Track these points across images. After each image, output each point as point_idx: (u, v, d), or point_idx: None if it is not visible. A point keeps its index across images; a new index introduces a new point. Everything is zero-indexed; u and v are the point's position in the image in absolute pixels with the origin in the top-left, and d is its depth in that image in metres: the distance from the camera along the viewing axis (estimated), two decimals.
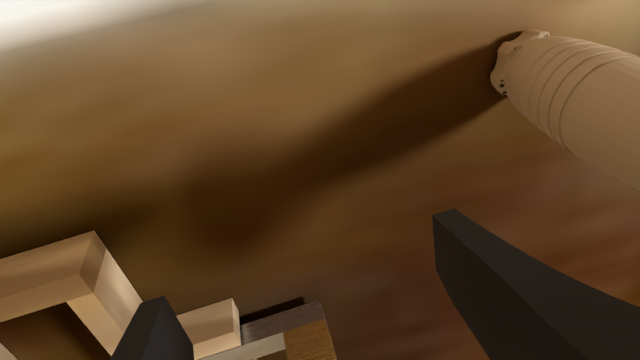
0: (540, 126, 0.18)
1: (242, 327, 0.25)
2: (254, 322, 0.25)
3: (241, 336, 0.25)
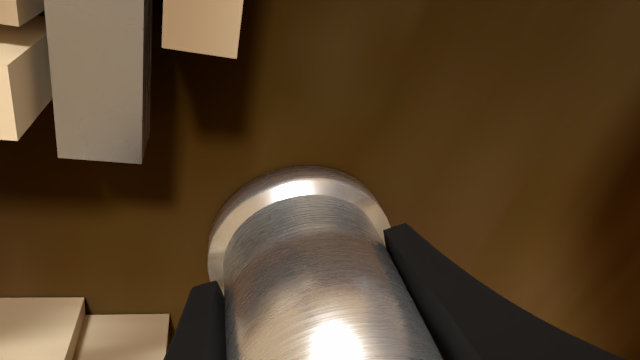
0: None
1: None
2: None
3: None
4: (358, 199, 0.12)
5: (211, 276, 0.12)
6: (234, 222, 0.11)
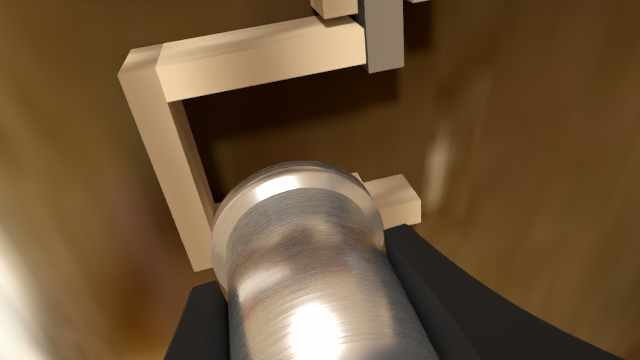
0: None
1: None
2: None
3: None
4: (347, 189, 0.12)
5: (215, 268, 0.13)
6: (232, 217, 0.12)
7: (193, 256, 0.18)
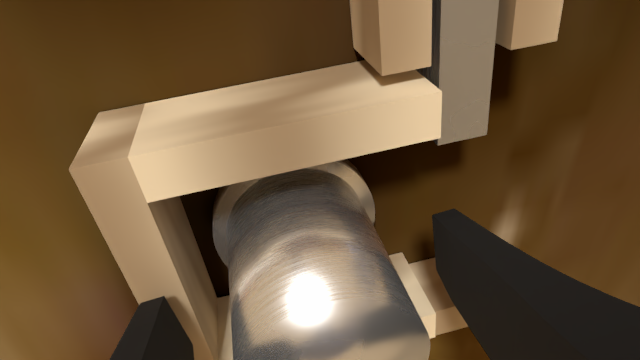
0: None
1: None
2: None
3: None
4: (340, 170, 0.13)
5: (216, 245, 0.14)
6: (233, 196, 0.13)
7: None
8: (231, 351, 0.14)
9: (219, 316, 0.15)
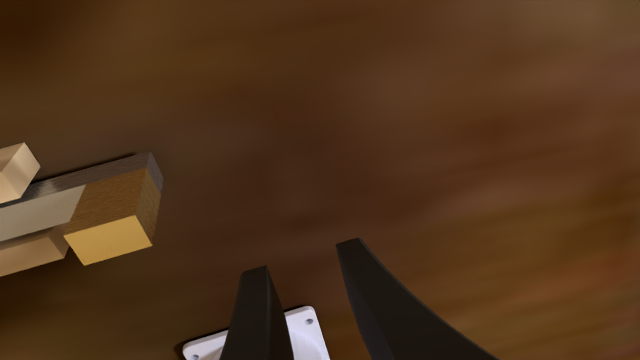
0: None
1: (38, 184, 0.18)
2: (56, 178, 0.18)
3: (31, 192, 0.18)
4: None
5: None
6: None
7: None
8: None
9: None
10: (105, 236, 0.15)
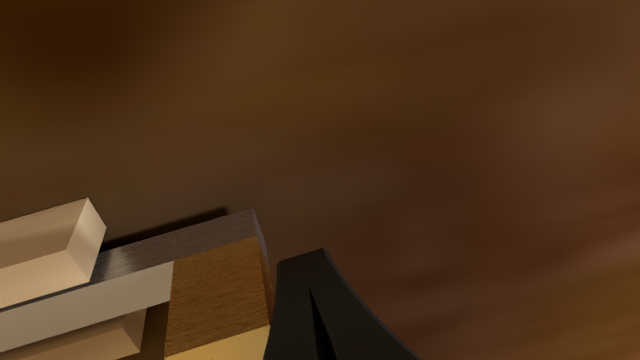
0: None
1: (104, 255, 0.13)
2: (127, 246, 0.13)
3: (96, 269, 0.13)
4: None
5: None
6: None
7: None
8: None
9: None
10: (223, 354, 0.10)
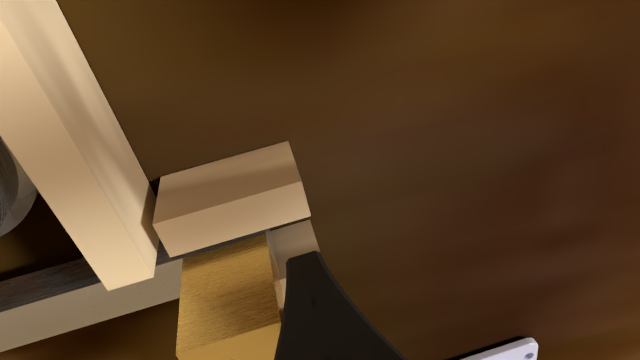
0: None
1: None
2: None
3: None
4: (19, 210, 0.12)
5: None
6: None
7: None
8: None
9: None
10: (234, 351, 0.10)
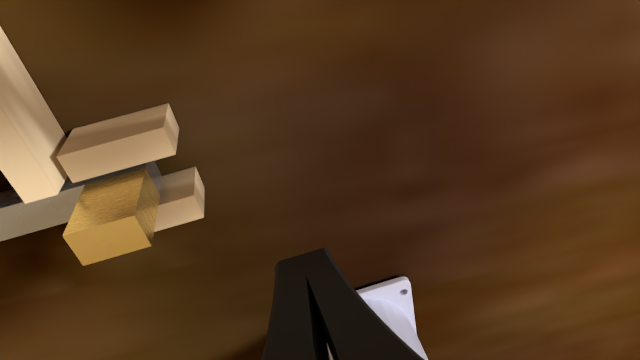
0: None
1: None
2: None
3: None
4: None
5: None
6: None
7: None
8: None
9: None
10: (104, 236, 0.15)
